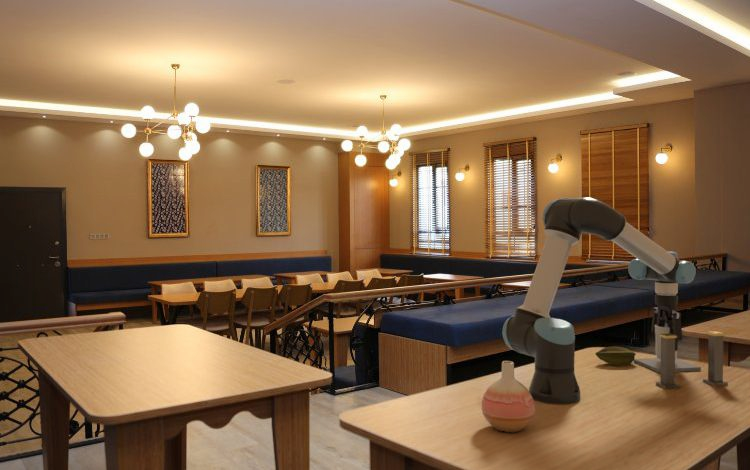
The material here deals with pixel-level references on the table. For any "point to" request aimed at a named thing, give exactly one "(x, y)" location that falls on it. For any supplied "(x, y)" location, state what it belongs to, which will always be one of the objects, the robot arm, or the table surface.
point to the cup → (658, 339)
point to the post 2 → (715, 359)
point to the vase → (508, 402)
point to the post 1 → (668, 362)
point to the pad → (656, 365)
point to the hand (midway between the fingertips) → (666, 356)
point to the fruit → (616, 356)
